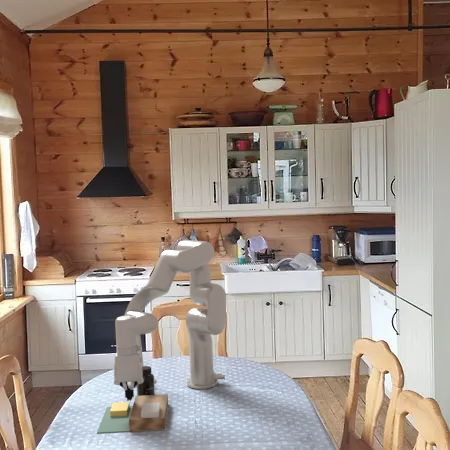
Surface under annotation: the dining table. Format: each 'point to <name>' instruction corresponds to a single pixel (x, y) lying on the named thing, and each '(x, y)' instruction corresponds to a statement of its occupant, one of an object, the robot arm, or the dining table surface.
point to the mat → (114, 422)
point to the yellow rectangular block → (119, 409)
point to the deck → (148, 423)
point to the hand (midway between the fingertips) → (129, 399)
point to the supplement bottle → (146, 383)
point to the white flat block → (150, 410)
